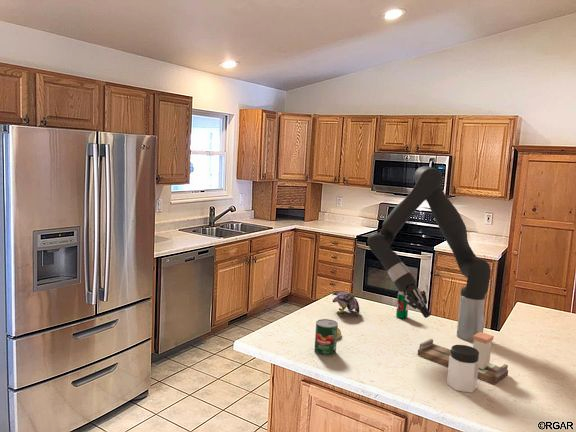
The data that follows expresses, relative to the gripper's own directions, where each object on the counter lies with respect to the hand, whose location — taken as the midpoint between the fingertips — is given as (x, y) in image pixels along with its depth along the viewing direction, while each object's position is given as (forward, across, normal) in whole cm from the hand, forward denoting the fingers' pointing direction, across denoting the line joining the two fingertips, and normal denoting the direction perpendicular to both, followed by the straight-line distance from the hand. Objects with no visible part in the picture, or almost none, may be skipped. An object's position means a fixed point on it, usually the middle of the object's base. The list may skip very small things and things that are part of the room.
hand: (428, 316), depth 165 cm
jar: (+24, -15, -5) cm, 29 cm away
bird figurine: (-22, +9, +42) cm, 48 cm away
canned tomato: (-7, -30, +26) cm, 40 cm away
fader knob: (+22, 0, -6) cm, 23 cm away
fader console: (+19, 0, 0) cm, 19 cm away
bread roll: (-13, -16, +33) cm, 39 cm away
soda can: (-9, +27, +29) cm, 40 cm away
